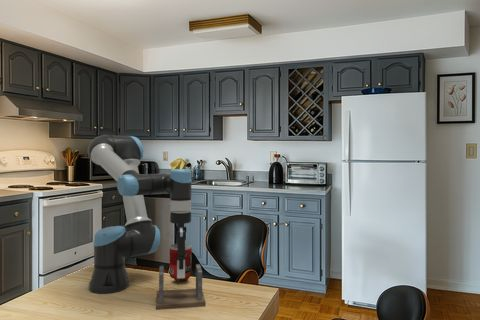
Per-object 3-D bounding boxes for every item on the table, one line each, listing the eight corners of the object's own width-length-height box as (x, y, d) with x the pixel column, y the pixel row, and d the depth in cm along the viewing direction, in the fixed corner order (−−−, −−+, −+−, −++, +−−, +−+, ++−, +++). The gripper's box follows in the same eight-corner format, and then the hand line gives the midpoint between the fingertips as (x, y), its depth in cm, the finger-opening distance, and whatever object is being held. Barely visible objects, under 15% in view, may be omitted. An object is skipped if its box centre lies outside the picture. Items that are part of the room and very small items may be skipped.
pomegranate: (188, 290, 155) (195, 270, 163) (182, 279, 151) (189, 259, 159) (172, 290, 158) (180, 270, 165) (165, 279, 154) (174, 259, 161)
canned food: (187, 280, 134) (187, 248, 134) (166, 278, 135) (166, 247, 135) (194, 273, 141) (194, 244, 141) (174, 272, 143) (174, 243, 143)
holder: (156, 294, 144) (156, 264, 144) (201, 292, 147) (202, 262, 147) (155, 309, 130) (155, 276, 130) (205, 306, 133) (205, 273, 133)
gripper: (170, 208, 148) (169, 266, 148) (170, 216, 127) (170, 284, 128) (189, 207, 149) (189, 265, 149) (193, 215, 129) (192, 282, 129)
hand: (180, 274), depth 138 cm, fingers closed on canned food, 8 cm apart
